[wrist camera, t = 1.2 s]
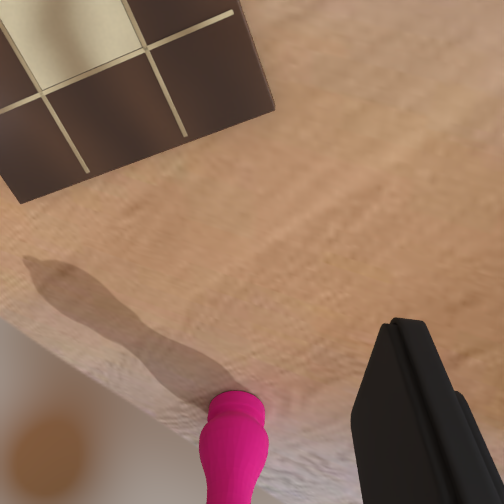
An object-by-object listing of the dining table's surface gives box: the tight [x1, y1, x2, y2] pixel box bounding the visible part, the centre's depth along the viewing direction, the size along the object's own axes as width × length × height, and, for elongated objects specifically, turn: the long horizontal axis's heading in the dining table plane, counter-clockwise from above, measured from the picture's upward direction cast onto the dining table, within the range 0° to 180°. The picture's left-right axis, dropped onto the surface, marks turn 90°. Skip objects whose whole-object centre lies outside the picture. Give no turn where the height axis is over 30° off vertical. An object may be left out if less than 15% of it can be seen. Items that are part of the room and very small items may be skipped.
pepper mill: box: [199, 391, 269, 504], centre depth 42 cm, size 7×7×20 cm
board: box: [0, 0, 275, 204], centre depth 30 cm, size 22×22×2 cm
